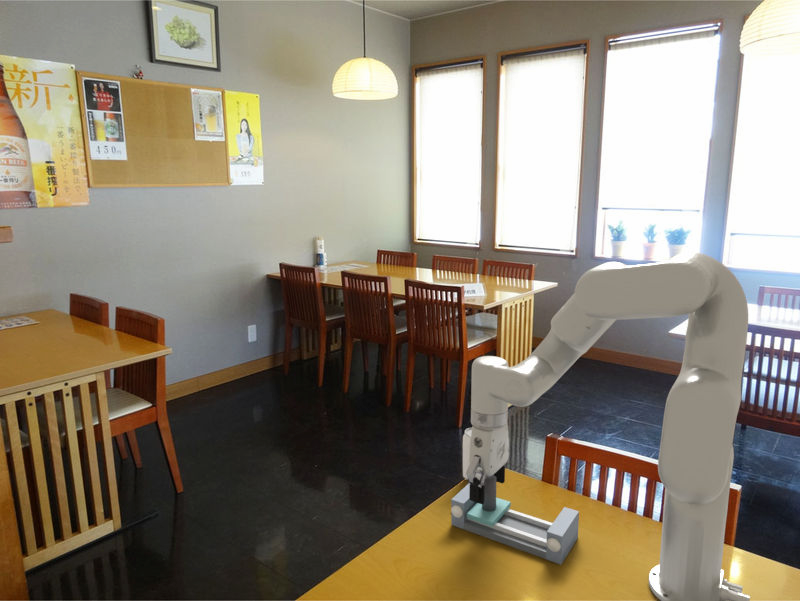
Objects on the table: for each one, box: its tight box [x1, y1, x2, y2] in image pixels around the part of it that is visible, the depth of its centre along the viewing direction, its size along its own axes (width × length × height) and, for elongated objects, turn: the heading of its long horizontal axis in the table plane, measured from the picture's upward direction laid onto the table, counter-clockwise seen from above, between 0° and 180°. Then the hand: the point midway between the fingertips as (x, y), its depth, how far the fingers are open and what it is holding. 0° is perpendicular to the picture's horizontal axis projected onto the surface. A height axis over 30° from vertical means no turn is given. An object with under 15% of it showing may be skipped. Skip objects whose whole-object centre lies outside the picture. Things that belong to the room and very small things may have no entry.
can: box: [462, 427, 482, 482], centre depth 140 cm, size 6×6×12 cm
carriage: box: [467, 475, 512, 527], centre depth 120 cm, size 6×9×8 cm, turn 145°
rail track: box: [450, 483, 580, 566], centre depth 118 cm, size 24×10×6 cm, turn 55°
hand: (487, 491), depth 121 cm, fingers open, 9 cm apart
